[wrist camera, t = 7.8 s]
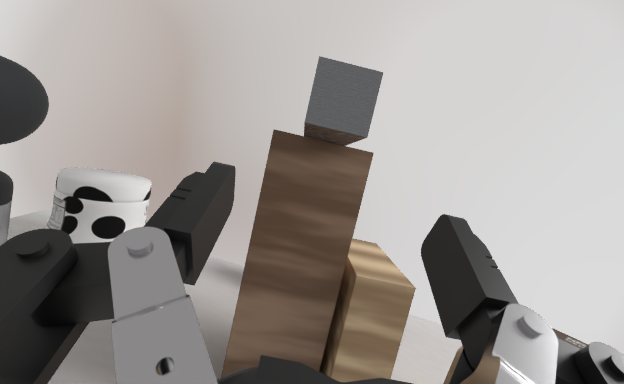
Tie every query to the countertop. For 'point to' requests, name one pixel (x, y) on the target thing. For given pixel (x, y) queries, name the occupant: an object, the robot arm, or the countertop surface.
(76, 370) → the countertop surface
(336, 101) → the gray metal block
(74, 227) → the spotted cookie jar
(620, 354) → the robot arm
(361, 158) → the stand
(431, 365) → the countertop surface
